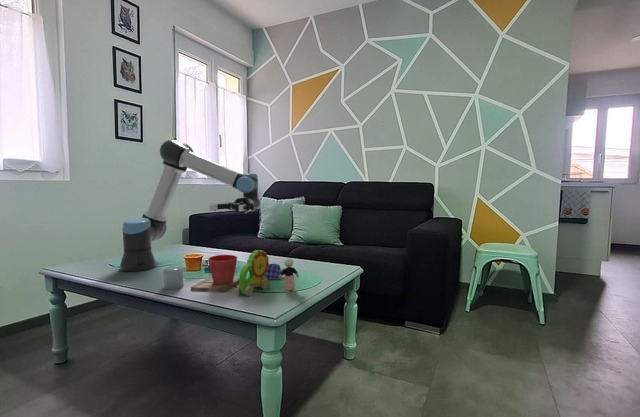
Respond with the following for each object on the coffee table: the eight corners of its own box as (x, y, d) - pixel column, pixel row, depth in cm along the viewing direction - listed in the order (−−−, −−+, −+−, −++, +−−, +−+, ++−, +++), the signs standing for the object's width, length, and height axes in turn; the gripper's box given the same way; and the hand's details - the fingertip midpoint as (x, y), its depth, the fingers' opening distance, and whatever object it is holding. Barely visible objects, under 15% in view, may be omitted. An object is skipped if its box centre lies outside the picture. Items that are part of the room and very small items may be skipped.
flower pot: (233, 285, 127) (233, 260, 126) (205, 285, 127) (204, 260, 126) (240, 277, 137) (239, 254, 137) (213, 277, 137) (213, 254, 136)
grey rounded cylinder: (160, 289, 127) (159, 271, 126) (171, 283, 134) (170, 266, 133) (176, 290, 126) (176, 272, 125) (187, 284, 133) (186, 267, 132)
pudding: (291, 274, 148) (291, 263, 148) (277, 282, 137) (277, 269, 137) (268, 271, 153) (268, 260, 153) (253, 278, 142) (253, 266, 142)
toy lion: (247, 298, 117) (247, 255, 116) (235, 295, 120) (234, 254, 118) (272, 285, 132) (272, 248, 130) (261, 283, 134) (260, 246, 133)
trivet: (190, 290, 125) (190, 286, 125) (208, 279, 139) (208, 276, 139) (225, 292, 123) (225, 288, 123) (240, 281, 137) (240, 277, 137)
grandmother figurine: (295, 288, 128) (295, 256, 127) (300, 290, 125) (300, 258, 124) (277, 291, 124) (277, 258, 123) (281, 294, 121) (281, 260, 120)
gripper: (268, 213, 161) (252, 217, 140) (220, 212, 165) (197, 216, 144) (267, 197, 160) (252, 199, 140) (219, 197, 164) (197, 199, 143)
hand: (224, 208), depth 142 cm, fingers open, 13 cm apart
